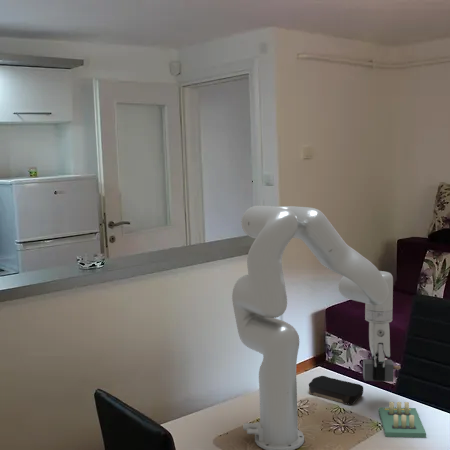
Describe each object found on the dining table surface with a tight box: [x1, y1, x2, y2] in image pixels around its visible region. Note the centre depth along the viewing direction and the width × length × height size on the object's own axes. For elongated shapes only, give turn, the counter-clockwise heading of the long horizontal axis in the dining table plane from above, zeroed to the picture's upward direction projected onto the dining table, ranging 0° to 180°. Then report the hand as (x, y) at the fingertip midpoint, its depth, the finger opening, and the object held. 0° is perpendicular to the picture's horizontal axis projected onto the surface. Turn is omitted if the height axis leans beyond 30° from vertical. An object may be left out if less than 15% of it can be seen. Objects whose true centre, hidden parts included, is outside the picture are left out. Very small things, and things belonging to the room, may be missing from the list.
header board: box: [378, 401, 427, 439], centre depth 160 cm, size 10×15×4 cm, turn 172°
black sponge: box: [308, 375, 364, 405], centre depth 180 cm, size 16×8×4 cm, turn 49°
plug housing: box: [362, 358, 401, 383], centre depth 172 cm, size 10×4×5 cm, turn 82°
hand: (377, 376), depth 172 cm, fingers closed on plug housing, 4 cm apart
